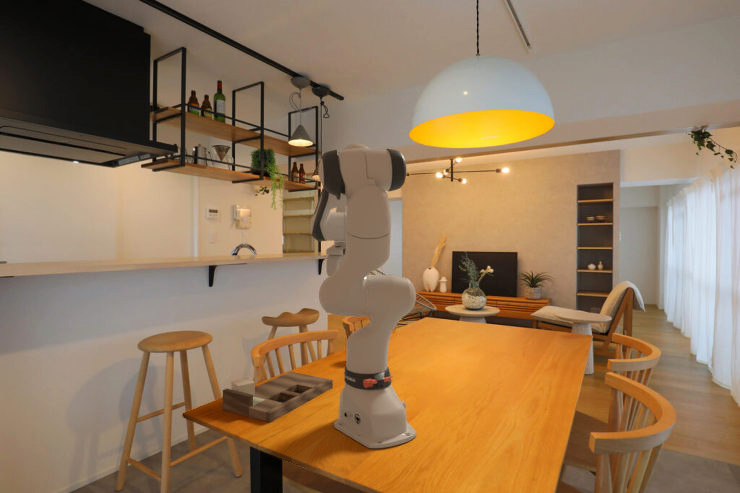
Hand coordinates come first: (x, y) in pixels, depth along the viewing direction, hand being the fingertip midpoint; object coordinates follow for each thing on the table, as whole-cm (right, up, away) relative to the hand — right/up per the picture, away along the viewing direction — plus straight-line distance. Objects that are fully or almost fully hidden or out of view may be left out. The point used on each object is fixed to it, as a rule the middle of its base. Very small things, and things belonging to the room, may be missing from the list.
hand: (346, 288), depth 149 cm
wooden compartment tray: (-18, -31, -23) cm, 43 cm away
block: (-29, -29, -28) cm, 49 cm away
